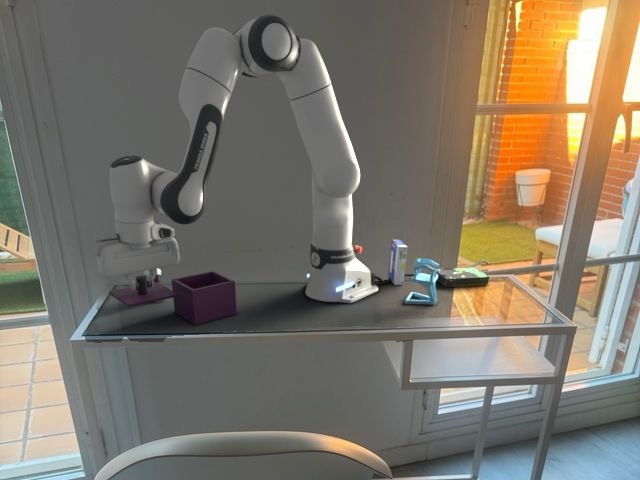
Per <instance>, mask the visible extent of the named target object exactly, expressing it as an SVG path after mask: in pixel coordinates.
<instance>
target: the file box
mask: <svg viewBox="0 0 640 480" xmlns="http://www.w3.org/2000/svg"><path fill="white" fill-rule="evenodd" d="M171 288H172V289H171V290H172V291H173V292H175V293H177V294H178V296H177V297H173V298H172V299H173V300H172V301H173V307H174V313H175V314H177V315H179V316H181V317H182V318H183V319H185V320H187V321H189V322H190V323H192V324H193V325H199V324H203V323H206V322H210V321H215V320H219V319H222V318H226V317H230V316H234V315H237V292H236V281H235V280H234V279H231V278H229V277H227V276H225V275H223V274H222V273H219V272H217V271H215V270H209V271H204V272H200V273H194V274H190V275H185V276H182V277H176V278H171Z"/></svg>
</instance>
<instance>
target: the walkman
mask: <svg viewBox="0 0 640 480" xmlns="http://www.w3.org/2000/svg"><path fill="white" fill-rule="evenodd" d="M407 253H408V246H407V245H406V244H405V243H404V242H403V241H402V240H401V239H391V240H390V251H389V261H388V272H387V278H388V279H389V278H390V277H391V281H390V282H392V284H393V285H394V286H403V285H404V281H405V277H404V274H406V273H405V271H406V263H407Z"/></svg>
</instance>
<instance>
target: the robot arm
mask: <svg viewBox="0 0 640 480" xmlns="http://www.w3.org/2000/svg"><path fill="white" fill-rule="evenodd" d="M272 74H275V75H276V76H277V77H278V78H279V79H280V80H281V82H282V84H283V86H284V89H285V92H286V95H287V99H288V102H289V104H290V107H291V110H292V115H293V117H294V120H295V123H296V125H297V129H298V131H299V134H300V137H301V140H302V142H303V145H304V147H305V150H306V154H307V156H308V158H309V161H310V164H311V203H312V204H311V205H312V230H311V231H312V232H311V233H312V234H311V235H312V238H311V240H312V241H311V244H310V248H309V249H310V250H309V258H310V266H309V273H307V274H306V277H307V278H308V280H307V285H306V288H305V291H304V294H305V295H306V296H307V297H308V298H310V299H313V300H316V301H321V302H328V303H344V304H352V303H355V302H357V301H359V300H362V299H363V298H366V297H367V296H370V295H372V294H375V293H377V292H378V291H379V287H378V285H376V280H378V282H380V284H388V283H390V282H392V281H391V277H390V278H389V277H388V279H386V280H383V279H382V278H381V277H380V276H376V273H374V272H371V271H370V269H369V268H368V266H366V265H365V264H363V263H362V262H361V261H360V260H359V259H357V257H356V254H359V255H360V254H361V253H362V252H363V247H362V246H360V245H357V244H356V245H353V244H352V240H353V225H354V223H353V222H354V214H353V194H354V193H355V192H356V190H357V189H358V187H359V185H360V180H361V172H360V171H361V170H360V165H359V163H358V160H357V158H356V157H357V156H356V154H355V151H354V148H353V145H352V142H351V140H350V137H349V134H348V131H347V129H346V126H345V123H344V121H343V118H342V115H341V112H340V108H339V105H338V101H337V98H336V95H335V91H334V88H333V85H332V81H331V78H330V75H329V73H328V69H327V67H326V64H325V62H324V60H323V57H322V55H321V53H320V51H319V49H318V47H317V45H316V43H315V42H314V41H312V40H311V39H308V38H299V36H298V35H297V34H296V33H295V32H294V31H293V29H292V27H291V26H290V24H289V23H287V22H286V21H285V20H284V18H282V17H280V16H278V15H274V14H265V15H264V14H263V15H261V16H259V17H256V18H253V19H251V20H249V21H248V22H247V23H245V24H244V26H242V27H240V28H239V29H237V30H235V32H233V33H231V32H230V31H228V30H227V29H225V28H221V27H215V26H214V27H209V28H207V29H206V30H204V32H203V34H202V35H201V37H200V38H199V39H198V41H197V43H196V45H195V47H194V49H193V51H192V53H191V54H190V57H189V60H188V61H187V65H186V66H185V70H184V73H183V75H182V78H181V81H180V84H179V90H178V97H177V98H178V103H179V106H180V109H181V111H182V112H183V114H184V116H185V117H186V118H187V121H188V123H189V128H190V136H189V140H188V143H187V147H186V151H185V154H184V158H183V160H182V164H181V167H180V170H179V171H178V172H174V171H172V170H168V169H167V168H166V169H165V168H162V167H159V166H157V165H154V164H153V163H151V162H149V161H148V160H146V159H145V158H144V157H142V156H140V155H125V156H122V157H119V158H117V159H115V160H113V161H112V162H111V164H110V167H109V189H110V190H109V191H110V198H111V202H112V204H113V208H114V216H113V217H114V218H113V219H114V225H115V232H116V233H115V234H109V235H101V236H99V237H98V239H96V240H95V241H94V243H93V246H94V253H95V254H96V268H97V272H98V273H99V275H101V276H102V277H104V278H113V277H119V276H124V277H125V278H126V279H127V281H128V282H129V284H130V287H131V289H132V290H133V291H134V290H138V289H139V283H138V282H136V280H134V279H133V278H134V274H135V273H141V272H144V271H146V270H148V271H149V272H150V274H149V277H148V279H147V283H148V287H153V286H154V279H155V276H156V274H157V268H158V269H161V268H162V269H163V268H168V267H172V266H177V265H179V262H180V261H181V256H180V250H179V243H178V241H177V239H176V238H175V228H173V227H172V226H169V225H167V224H165V223H162V222H157V221H155V219H154V215H155V214H157V213H161V214H163V215H165V216H166V217H168V218H169V219H170V220H171V221H173V222H175V223H176V224H178V225H190V224H193V223H195V222H197V221H198V220H199V219H200V218H201V217H202V216H203V214H204V213H205V210H206V207H207V202H208V184H209V179H210V176H211V172H212V168H213V165H214V161H215V159H216V155H217V152H218V149H219V145H220V142H221V137H222V133H223V129H224V118H225V114H226V111H227V108H228V104H229V102H230V99H231V97H232V93H233V92H234V88H235V85H236V82H237V81H238V79H239V78H240V76H244V77H248V78H260V77H267V76H270V75H272ZM355 253H356V254H355ZM484 263H485V264H486V265H490V262H489V261H488V260H486V259H482V260H480V261H478V262H476V263H474V264H471V265H468V266H467V267H470V268H472V267H473V268H476V267H477V266H480V265H481V264H484ZM422 273H423V272H422ZM431 273H432V272H424V273H423V274H429V275H431ZM413 276H414V273H404V278H405V277H413Z"/></svg>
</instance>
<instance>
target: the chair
mask: <svg viewBox="0 0 640 480" xmlns="http://www.w3.org/2000/svg"><path fill="white" fill-rule="evenodd" d="M429 264H430V265H432V266H434V268H433V267H432V266H430V265H429ZM439 266H440V264H439V263H437V262H435V261H433V260H432V259H430V258H416V259H415V261H414V263H413V274H414V276H411V279H410V283H416V284H419V285H422V286H423V287H424V288H425V290H426V293H427V295H425V294H421V293H418V292H415V291H411V292H410V293H409V294H408V296H407V297H406V298H405V301H404V302H405V304H407V305H409V304H411V305H432V306H435V305H436V303H437V302H438V296H437V289H436V281H438V280H437V279H438V275H436V271H437V269H439ZM421 269H422V270H423V269H424V270H427V271H429V272H430V273H431V275H429V274H423V272H421ZM412 297H416V298H419V299H411V298H412Z"/></svg>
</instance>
